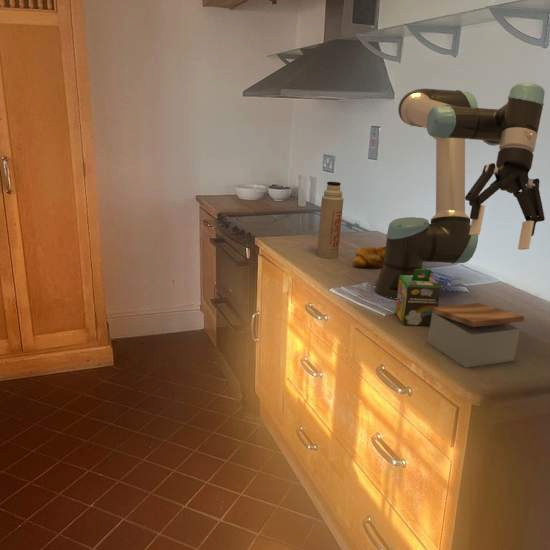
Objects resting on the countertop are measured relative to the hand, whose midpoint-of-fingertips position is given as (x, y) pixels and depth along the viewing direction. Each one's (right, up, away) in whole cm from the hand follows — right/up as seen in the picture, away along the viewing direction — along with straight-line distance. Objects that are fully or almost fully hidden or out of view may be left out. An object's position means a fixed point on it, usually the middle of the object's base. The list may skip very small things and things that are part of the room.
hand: (499, 242), depth 124 cm
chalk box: (-13, -20, +26) cm, 35 cm away
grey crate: (-4, -26, +8) cm, 27 cm away
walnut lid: (-3, -17, +5) cm, 18 cm away
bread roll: (-17, -4, +76) cm, 78 cm away
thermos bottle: (-31, 0, +86) cm, 91 cm away
